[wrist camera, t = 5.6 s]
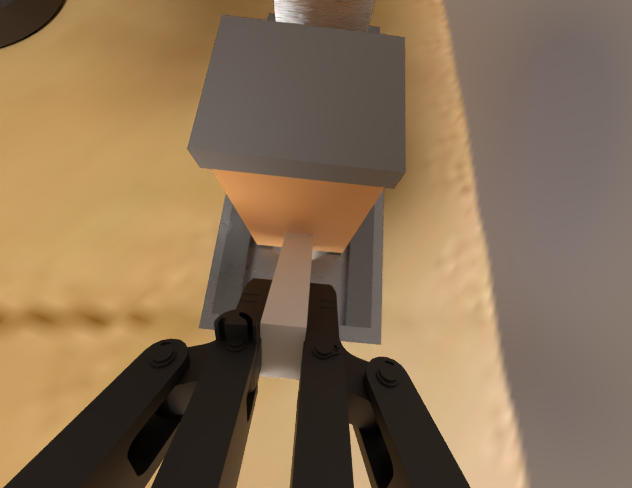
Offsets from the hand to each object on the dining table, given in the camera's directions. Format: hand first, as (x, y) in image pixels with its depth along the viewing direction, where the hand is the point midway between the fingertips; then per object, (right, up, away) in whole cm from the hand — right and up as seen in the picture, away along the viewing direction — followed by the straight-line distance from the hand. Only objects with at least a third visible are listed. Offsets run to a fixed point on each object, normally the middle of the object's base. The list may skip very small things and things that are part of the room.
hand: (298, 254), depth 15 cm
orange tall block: (0, +3, +4) cm, 5 cm away
